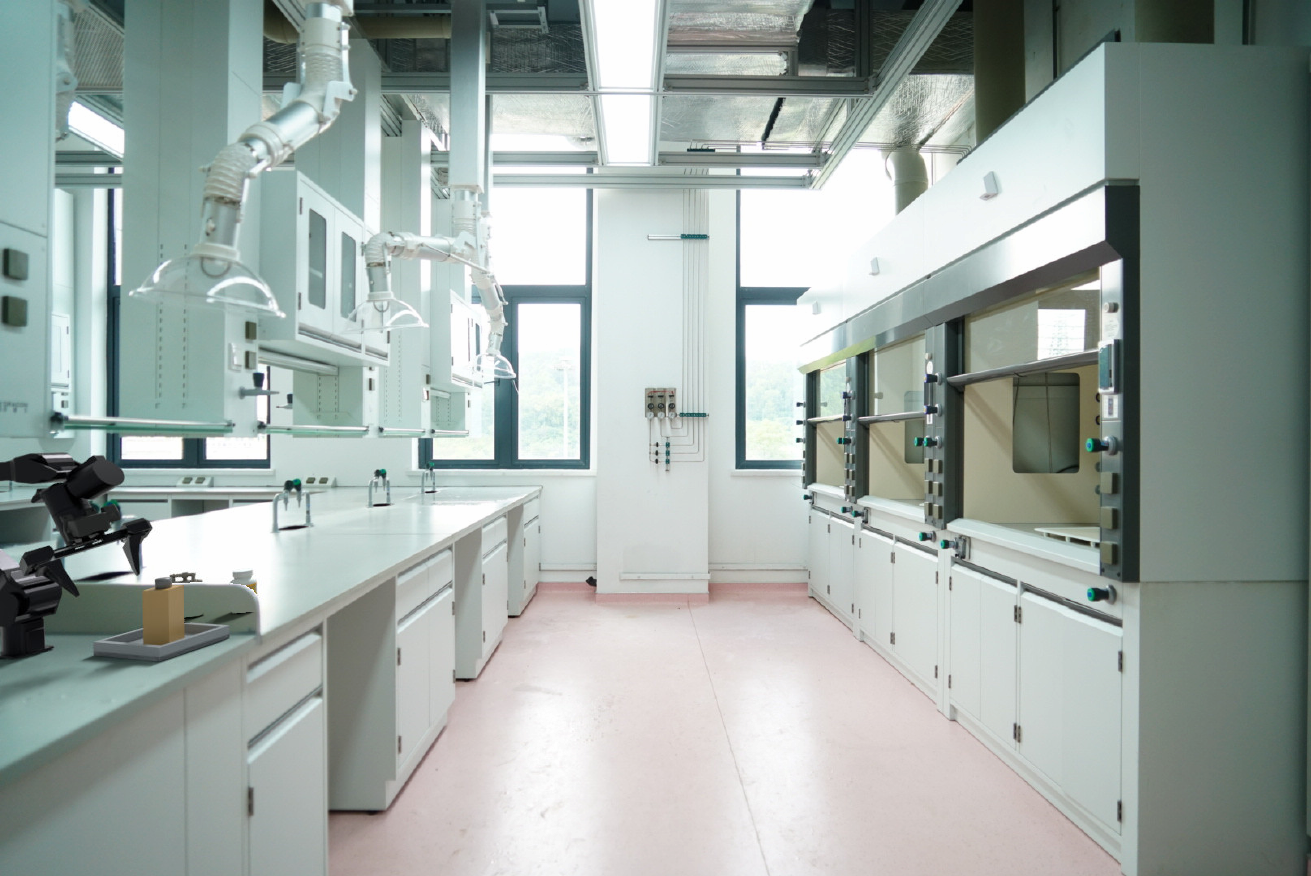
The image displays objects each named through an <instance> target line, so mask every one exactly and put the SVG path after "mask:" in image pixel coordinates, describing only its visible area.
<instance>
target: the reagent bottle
mask: <svg viewBox="0 0 1311 876" xmlns="http://www.w3.org/2000/svg"><path fill="white" fill-rule="evenodd" d="M141 592H142V628H143V644H148V645H159V646H161V645H164V644H167V643H171V642H174V641H177V640H180V639H183V638H185V630H184V622H185V619H184V585H172V577H170V576H166V577H165V576H164V577H158V578H154V586H153V587H150V588H147V589H144V590H142V591H141Z"/></svg>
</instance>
